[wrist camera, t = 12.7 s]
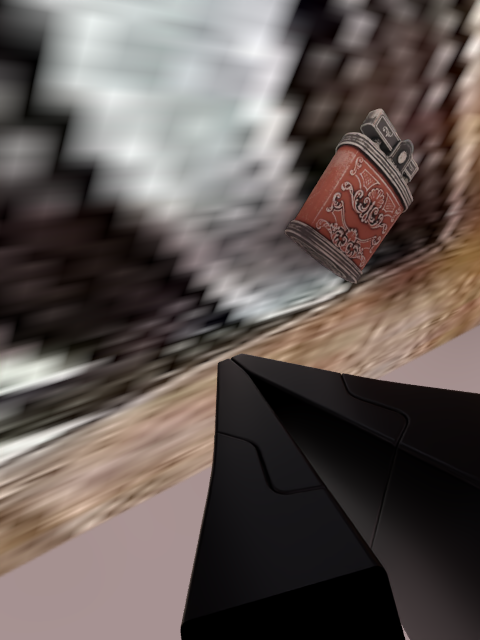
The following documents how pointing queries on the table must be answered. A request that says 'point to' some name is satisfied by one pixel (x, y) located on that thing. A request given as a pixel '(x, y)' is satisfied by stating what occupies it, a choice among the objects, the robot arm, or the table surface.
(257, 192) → the table surface
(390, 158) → the lighter
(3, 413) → the table surface
